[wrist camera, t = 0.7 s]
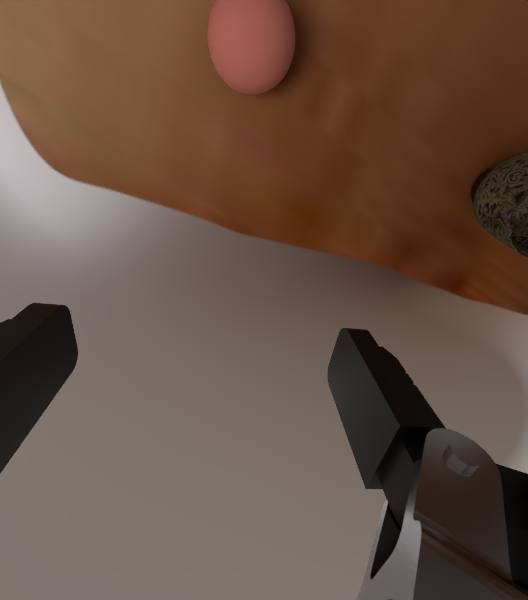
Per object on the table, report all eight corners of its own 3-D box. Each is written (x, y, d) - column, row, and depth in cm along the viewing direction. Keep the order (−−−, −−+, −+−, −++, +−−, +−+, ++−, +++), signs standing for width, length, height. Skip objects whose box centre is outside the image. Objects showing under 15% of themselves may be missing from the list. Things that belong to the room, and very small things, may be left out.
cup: (428, 198, 27) (489, 224, 20) (500, 120, 24) (601, 119, 17) (476, 241, 29) (546, 277, 22) (547, 175, 26) (652, 194, 19)
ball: (213, -10, 19) (201, -52, 15) (295, 4, 20) (310, -32, 15) (211, 92, 22) (201, 84, 17) (284, 102, 23) (293, 97, 18)
